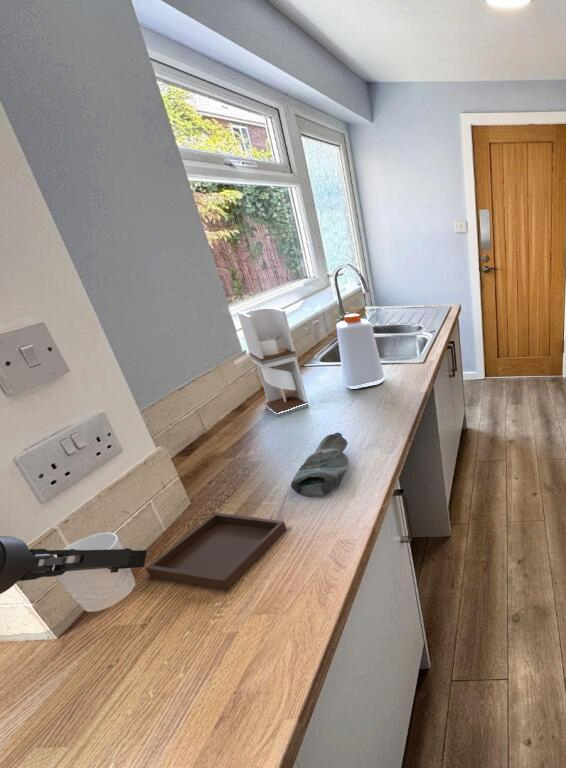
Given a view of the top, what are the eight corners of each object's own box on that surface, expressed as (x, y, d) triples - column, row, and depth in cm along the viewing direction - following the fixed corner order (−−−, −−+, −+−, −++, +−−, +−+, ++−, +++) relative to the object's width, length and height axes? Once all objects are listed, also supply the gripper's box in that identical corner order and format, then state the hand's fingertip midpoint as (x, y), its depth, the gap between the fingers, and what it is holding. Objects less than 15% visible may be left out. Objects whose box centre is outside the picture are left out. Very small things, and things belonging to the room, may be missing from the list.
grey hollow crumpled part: (341, 498, 97) (365, 442, 120) (333, 474, 94) (358, 421, 117) (286, 506, 97) (320, 449, 119) (276, 483, 94) (313, 428, 116)
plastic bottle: (347, 392, 156) (333, 322, 145) (342, 380, 169) (328, 314, 158) (387, 384, 163) (376, 316, 152) (379, 373, 175) (368, 309, 164)
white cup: (95, 582, 71) (70, 538, 67) (149, 570, 73) (127, 527, 69) (65, 621, 64) (34, 575, 60) (125, 607, 66) (99, 562, 62)
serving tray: (150, 577, 77) (145, 567, 76) (219, 521, 91) (215, 512, 90) (227, 590, 74) (223, 581, 73) (286, 530, 88) (284, 521, 87)
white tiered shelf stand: (265, 407, 146) (237, 312, 132) (296, 398, 153) (272, 306, 140) (277, 416, 139) (248, 317, 125) (308, 406, 146) (284, 310, 132)
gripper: (-154, 616, 46) (41, 595, 67) (52, 589, 49) (177, 577, 70) (-124, 546, 49) (54, 547, 70) (69, 525, 52) (184, 531, 73)
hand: (115, 562), depth 70 cm, fingers closed on white cup, 8 cm apart
